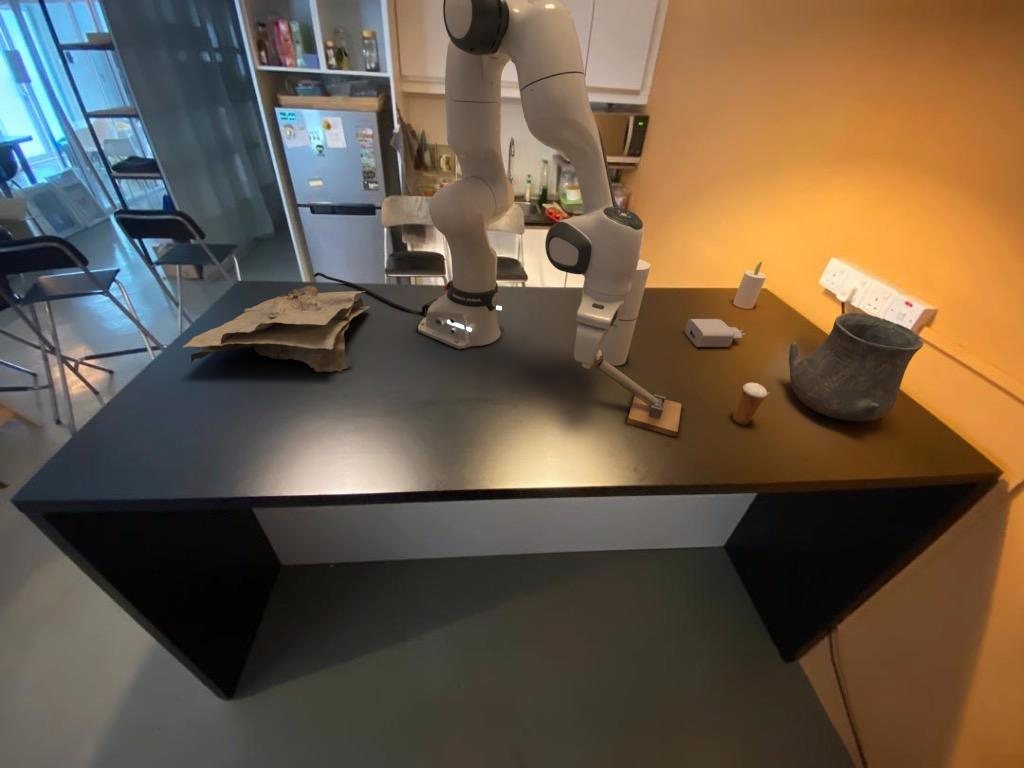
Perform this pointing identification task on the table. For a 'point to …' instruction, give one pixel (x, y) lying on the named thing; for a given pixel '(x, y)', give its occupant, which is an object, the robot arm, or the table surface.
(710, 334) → the charger
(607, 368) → the ball topped rod
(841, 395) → the vessel
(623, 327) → the cylindrical container
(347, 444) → the table surface
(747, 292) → the candle
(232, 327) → the crumpled cardboard stack
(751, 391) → the milkshake
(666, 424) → the holder base
